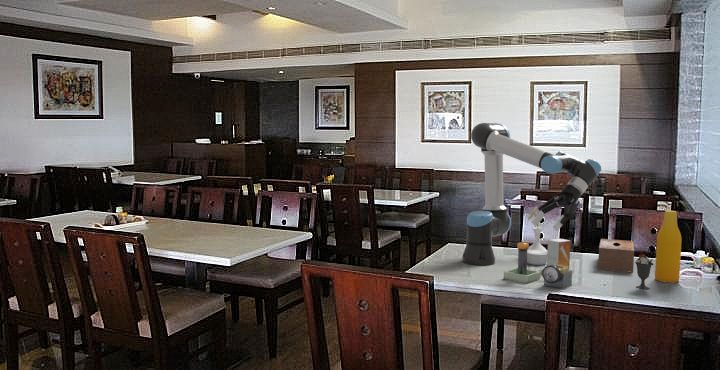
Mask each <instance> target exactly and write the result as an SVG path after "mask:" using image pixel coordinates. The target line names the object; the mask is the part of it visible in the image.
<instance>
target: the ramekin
mask: <svg viewBox="0 0 720 370" xmlns="http://www.w3.org/2000/svg"><path fill="white" fill-rule="evenodd" d="M547 251H548V250H547ZM547 251H542V250H527V264H529V265H537V266H538V265H539V266H542V265H547Z"/></svg>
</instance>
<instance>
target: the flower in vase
mask: <svg viewBox="0 0 720 370" xmlns="http://www.w3.org/2000/svg"><path fill="white" fill-rule="evenodd" d="M537 209H538V206H537V205H536V206H534V208H533V209H532V210H531V213H529V216H528V217H527V221H530V220H531V219H532V218H533V217H534V218H535V217H536V215H537V214H536V212H537ZM539 226H541V223H540V222H539V223H538V224H537V226H535V225H534V227H531V228H532V230H533V232H534V242H533V244H531V245H529V249H527V250H542V251H547V252H548V249H546V247H544V246H543V245H542V243H540V242H541V241H540V238H541V233H542V232H543V230H544V228H542V227H539Z"/></svg>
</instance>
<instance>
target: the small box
mask: <svg viewBox="0 0 720 370" xmlns="http://www.w3.org/2000/svg"><path fill="white" fill-rule="evenodd" d="M571 243H572V242H571V240H569V239H566V238H565V239H564V238H552V239H548V240H547V251H548V252H547V263H546V266H549V265H561V266H567V267H569V268H570V260H571V259H570V258H571Z"/></svg>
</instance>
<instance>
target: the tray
mask: <svg viewBox="0 0 720 370" xmlns="http://www.w3.org/2000/svg"><path fill="white" fill-rule="evenodd" d="M541 278H542V271H539V270H532V269H528V268H527V275H522V274H518V267H514V268H512V269H507V270H505V271H503V279H504V280H507V279H508V281H514V282H519V283H524V284H530V283H533V282H535V281H539V280H541Z"/></svg>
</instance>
